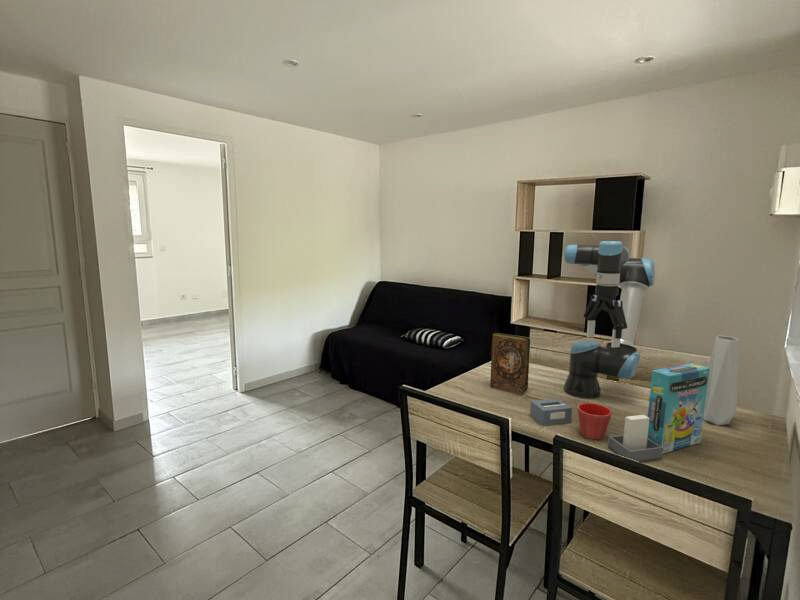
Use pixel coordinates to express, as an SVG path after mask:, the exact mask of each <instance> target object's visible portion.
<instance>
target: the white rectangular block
mask: <svg viewBox="0 0 800 600" xmlns="http://www.w3.org/2000/svg"><path fill="white" fill-rule="evenodd" d="M624 418H625V419H624V428H623V435H624V437H623V445H624V446H625V447H626V448H628V449H629V450H631V451H632V450H640V449H646V447H647V437H648V428H649V419H650V418H649V417H648V415H647V416H646V415H645V414H638V415H630V416H628V415H627V416H625V417H624Z"/></svg>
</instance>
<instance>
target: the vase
mask: <svg viewBox="0 0 800 600" xmlns="http://www.w3.org/2000/svg"><path fill="white" fill-rule="evenodd" d="M739 361H740V339H739V338H737V337H735V336H728V335H717V336H716V338H715V342H714V345H713V348H712V352H711V355H710V357H709V362H708V365H707V367H708V368H710V370H709V377H708V384H707V393H706V400H705V409H704V416H703V421H705V422H708V423H711V424H714V425H716V426H726V424H727V425H729V424H730V423H731V421H732V420H733V417H734V415H735V413H736V411H737V405H738V386H739V363H740V362H739Z"/></svg>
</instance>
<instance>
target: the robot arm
mask: <svg viewBox="0 0 800 600" xmlns="http://www.w3.org/2000/svg"><path fill="white" fill-rule="evenodd" d="M630 255H631V254H630V250H629V249H628V248H627V247H626V246H623V242H622V241H618V240H617V241H616V240H615V241H613V240H612V241H611V240H607V241H604V240H603V241H602V240H601V241H600V242H599V244H598V245H597V244H596V245H595V244H594V245H591V244H568V245H567V246H566V247H565V250H564V262H565V263H567V264H568V265H569V264H570V265H579V266H581V267H583V268H584V269H586V270H588V271H590V274H591V275H592V276H594V277H595V278H596V281H595V282H596V284H595V289H594V294H592V295H590V300H589V302H588V304H587V307H586V308H585V311H584V314H583V318H585V320H586V321H587V322H586V338H594V337H595V331H596V329H595V328H596V317H597V316H598V314H599V313H600V312H601V311H602V310H603V311H604V312H606V313H607V314H608V316H609V318H610V320H611V322H612V325H613V328H612V335H611V336H612V337H611V340H609V341H608V342H607V343H606V346H601V344H600V342H598V341H595V340H579V341H575V342H573V343H572V344H571V345H570V346H571V347H570V353H569V354H570V355H569V356H570V357H569V371H568V374H567V377H566V380H565V381H564V384H563V391H564V392H565V394H568V395H570V396H573V397H575V398H576V397H577V398H580V399H581V398H582V399H595V398H596V399H597V398H598V397H600V396H601V386H600V383H599V380H598V374H601V375H603V376H604V375H605V376H610V377H614V378H615V377H616V378H618V379H626V380H629V379H632V378H633V377H634V376H635V375H636V373H637V370H638V368H639V364H640V359H641V354H640V352H638V348H637V347H636V345H635V339H636V335H637V329H638V326H639V319H640V314H641V310H642V309H641V308H642V303H643V299H644V293H646V292H648V291H649V289H650V287H653V286H654V285H655V280H656V278H655V276H656V275H655V274H656V273H655V263H654V261H653V260H652V259H650V258H644V257H641V258H639V257H637V258H636V257H631V256H630ZM619 288H620V289H621V292H620V298H619V300H616V299H617V296H619V290H620V289H619Z"/></svg>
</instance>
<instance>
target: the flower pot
mask: <svg viewBox="0 0 800 600" xmlns="http://www.w3.org/2000/svg"><path fill="white" fill-rule="evenodd" d="M612 413H613V412H612V410H611V409H610V408H609V407H606V406H605V405H601V404H599V403H593V402H583V403H580V404H578V405H577V414H578V423H579V428H580V433H581V435H582V436H584V437H585V438H588V439H591V440H601V439H603V438H604V437H605V435H606V433H607V430H608V426H609V425H610V424H609V423H610V421H611V417H612Z"/></svg>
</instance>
